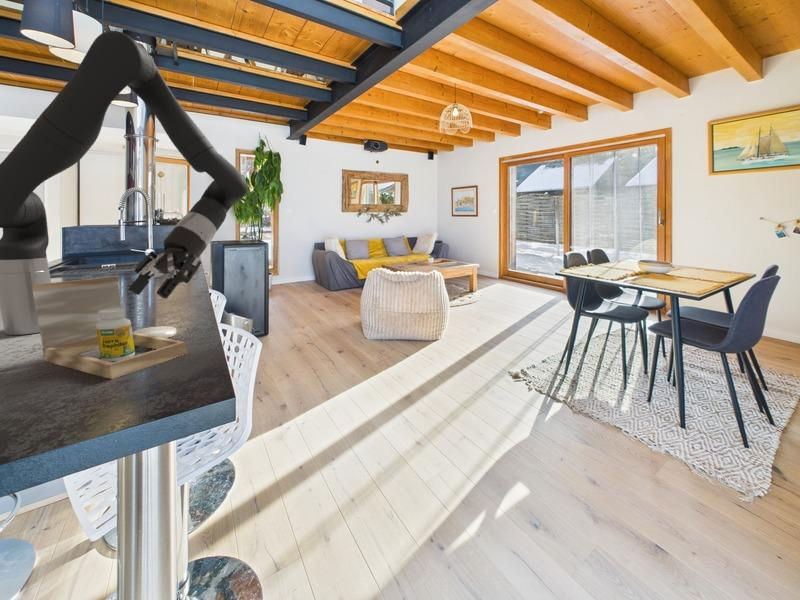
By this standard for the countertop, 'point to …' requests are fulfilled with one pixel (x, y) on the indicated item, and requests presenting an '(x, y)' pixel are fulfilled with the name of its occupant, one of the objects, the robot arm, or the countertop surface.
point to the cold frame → (90, 328)
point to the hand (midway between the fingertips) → (146, 294)
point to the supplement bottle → (114, 335)
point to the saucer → (158, 331)
